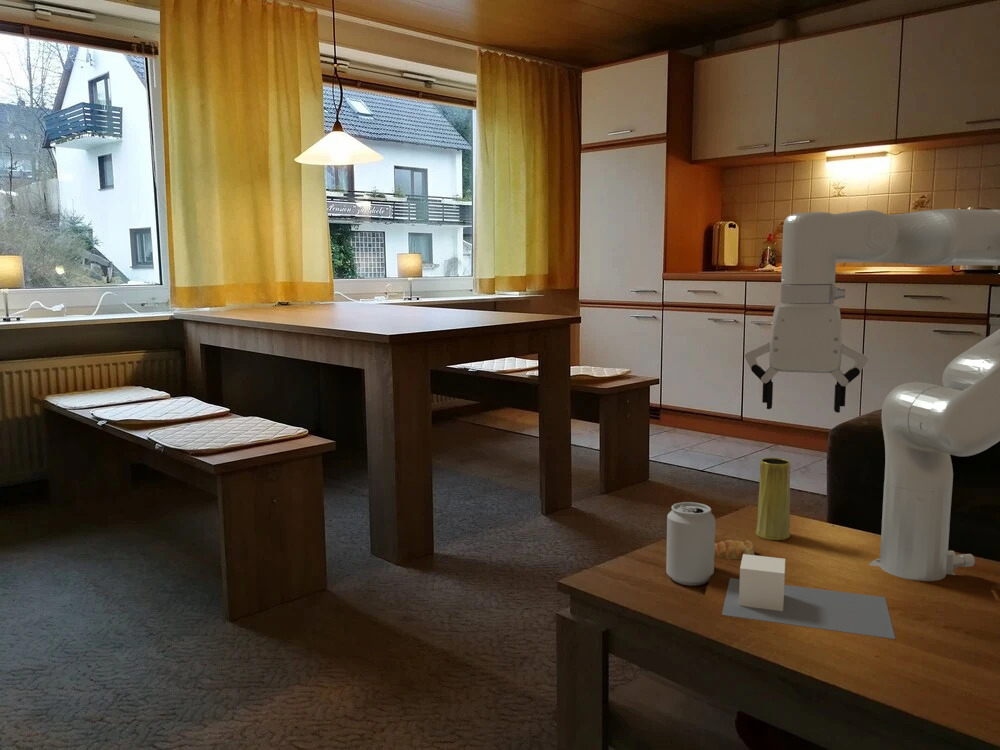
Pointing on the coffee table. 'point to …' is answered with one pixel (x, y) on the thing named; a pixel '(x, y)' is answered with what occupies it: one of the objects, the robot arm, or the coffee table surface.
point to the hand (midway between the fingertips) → (802, 409)
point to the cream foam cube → (762, 582)
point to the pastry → (733, 549)
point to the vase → (774, 499)
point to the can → (690, 543)
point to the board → (819, 610)
